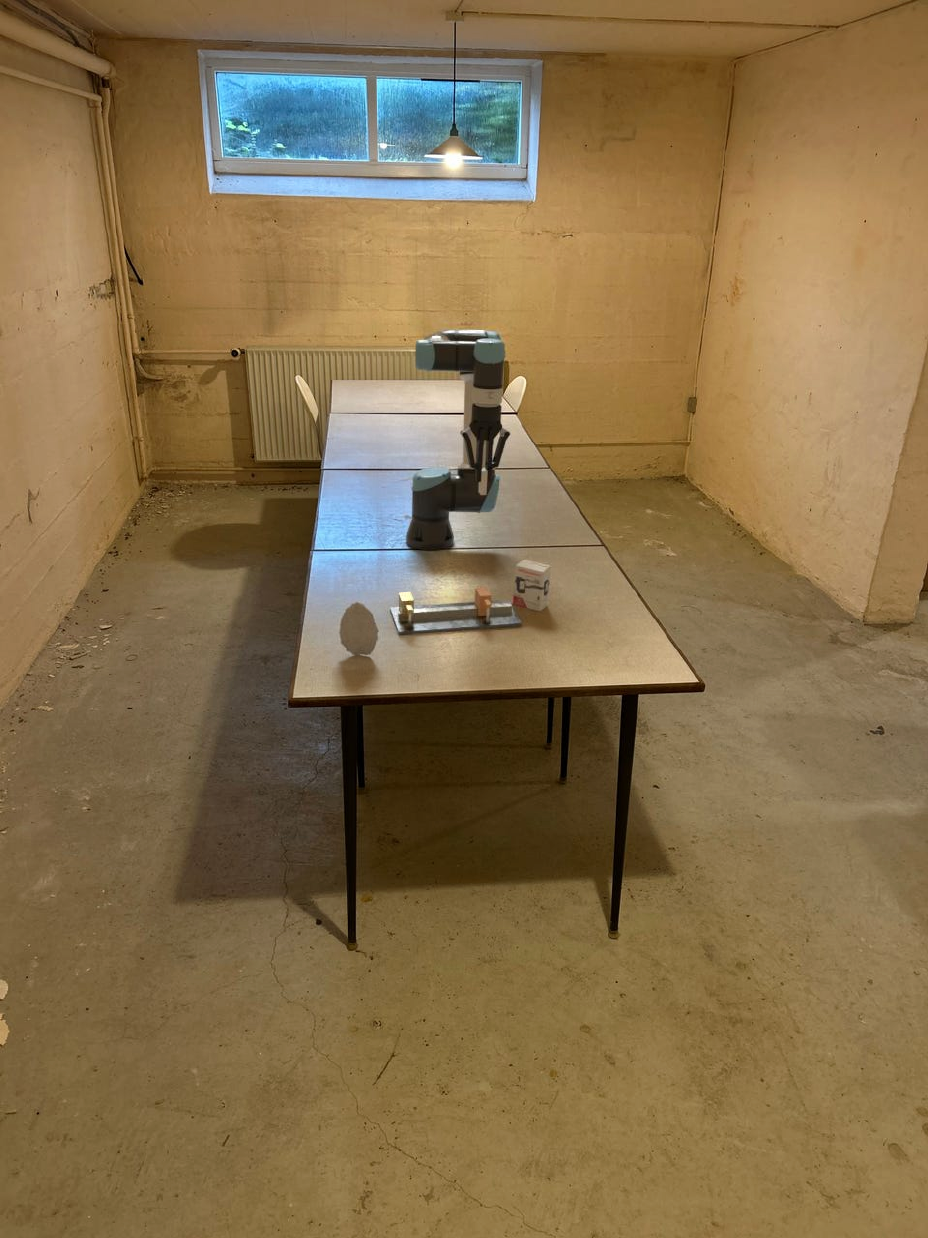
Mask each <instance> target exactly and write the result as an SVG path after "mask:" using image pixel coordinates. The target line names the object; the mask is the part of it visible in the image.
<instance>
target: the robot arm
mask: <svg viewBox="0 0 928 1238" xmlns="http://www.w3.org/2000/svg"><path fill="white" fill-rule="evenodd" d="M505 345H506V344H505V342H504V341H503V340H502V339H501V335H500V333H498V332H497V331H491V330H486V329H484V330H479V329H442V330H438V331H435V332H431V333H430V334H427V335H426V336H424V337H423V338H422V339H419V340H416V342H415V350H414V351H415V353H414V355H415V357H414V358H415V360H414V361H415V364H414V366H415V368H416V369H417V370H418V371H426V372H430V371H431V372H433V371H434V372H437V371H438V372H459V378H460V379H461V380H462V381H463V383H464V390H463V391H464V396H463V397H464V400H463V428H462V429H463V430H461V431H460V435H461V437H462V442H463V443H462V462H461V464H459V466H458V467H457V468H456V469H457V470H456V471H457V473H452V472H451V470H450V468H447V467H442V466H435V467H434V466H432V467H426V468H423V469H420V470H418V471H416V472H414V475H413V477H412V484H411V485H412V486H411V491H412V494H411V495H412V497H411V520H410V522H409V525H408V528H407V531H406V533H405V542H406V544H407V545H408V547H409V546H410V547H412V548H414V549H417V550H422V551H440V550H445V549H446V550H447V549H449V548H450V547H452V546H453V545H454V543H455V540H454V539H455V535H454V531H453V528H452V524H451V522H450V521H451V520H450V513H451V512H452V513H478V514H481V513H491V512H493V511H494V509H495V508H496V505H497V501H498V496H499V490H500V479H501V478H500V475H498V474H496V468H499V467H500V466H499V465H500V463H501V458H502V456H503V452H504V448H505V446H506V441H507V440H508V439H509V437H510V436H511V432H510V431H509V430H508V429H506V428H504V427H503V424H502V419H501V418H502V405H501V404H502V402H503V387H504V385H503V383H504V368H505V358H506V351H505ZM498 435H499V437H498V440H497V444H496V447H495V450H494V444H495V443H494V442H495V438H496V437H497V436H498ZM493 452H494V453H493Z"/></svg>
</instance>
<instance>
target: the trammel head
mask: <svg viewBox="0 0 928 1238" xmlns="http://www.w3.org/2000/svg"><path fill="white" fill-rule="evenodd" d="M491 601H492V594H491V592H490V590H489V589H488V587H487V586H485V587H483V586H481V587H475V592H474V602H475V605H477V607H478V616H486V622H489V615H490V609H491V605H492V604H491Z"/></svg>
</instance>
